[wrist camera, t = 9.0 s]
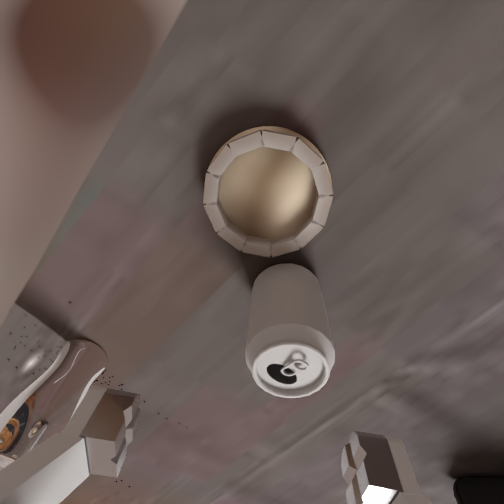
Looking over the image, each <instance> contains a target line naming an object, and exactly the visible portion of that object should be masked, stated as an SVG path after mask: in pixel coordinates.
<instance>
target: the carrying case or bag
mask: <svg viewBox="0 0 504 504" xmlns="http://www.w3.org/2000/svg"><path fill="white" fill-rule="evenodd" d="M453 490H454V497H455V498H456V501H457V503H458V504H504V477H462V478H458V479H457V480H456V481H455V483H454V486H453Z"/></svg>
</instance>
